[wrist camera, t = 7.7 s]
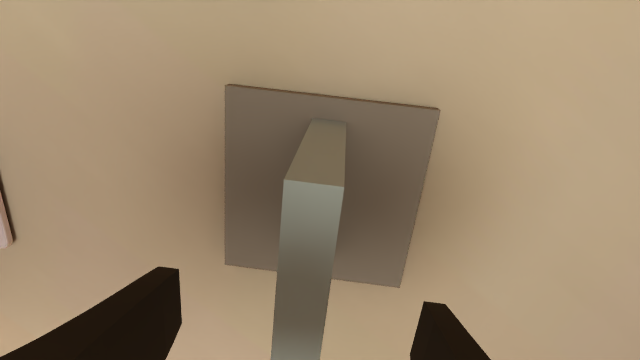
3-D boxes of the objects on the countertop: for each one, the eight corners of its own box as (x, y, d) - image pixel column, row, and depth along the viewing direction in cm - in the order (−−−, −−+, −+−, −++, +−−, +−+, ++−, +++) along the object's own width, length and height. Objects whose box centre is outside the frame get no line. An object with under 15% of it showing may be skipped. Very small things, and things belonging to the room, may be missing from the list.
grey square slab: (299, 253, 20) (268, 384, 12) (312, 117, 17) (283, 179, 9) (327, 257, 20) (315, 390, 12) (346, 122, 17) (344, 186, 9)
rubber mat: (227, 258, 21) (224, 264, 20) (229, 84, 17) (225, 85, 16) (398, 281, 20) (399, 287, 20) (437, 108, 17) (440, 110, 16)
